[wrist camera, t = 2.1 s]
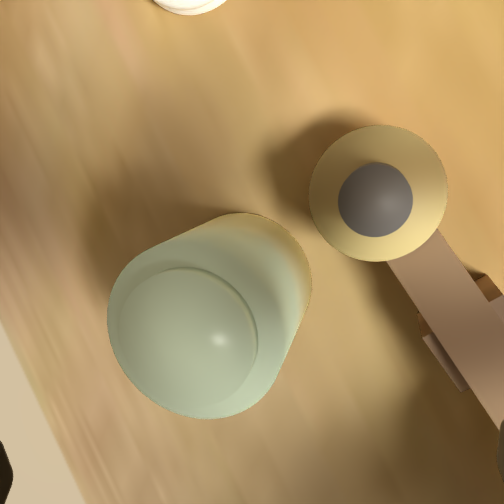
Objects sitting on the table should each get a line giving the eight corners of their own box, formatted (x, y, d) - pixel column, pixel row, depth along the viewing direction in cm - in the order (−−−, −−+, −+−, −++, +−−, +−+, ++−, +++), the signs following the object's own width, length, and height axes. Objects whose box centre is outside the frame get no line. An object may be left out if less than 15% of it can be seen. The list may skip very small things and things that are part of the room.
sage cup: (332, 242, 19) (308, 290, 13) (285, 365, 21) (245, 460, 15) (199, 193, 20) (118, 216, 14) (166, 314, 22) (80, 382, 16)
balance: (652, 471, 18) (765, 609, 13) (534, 513, 19) (591, 651, 14) (393, 101, 17) (399, 83, 12) (294, 175, 19) (260, 188, 14)
